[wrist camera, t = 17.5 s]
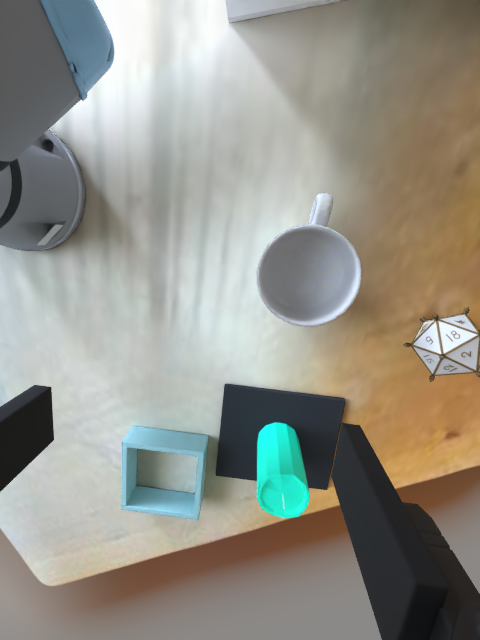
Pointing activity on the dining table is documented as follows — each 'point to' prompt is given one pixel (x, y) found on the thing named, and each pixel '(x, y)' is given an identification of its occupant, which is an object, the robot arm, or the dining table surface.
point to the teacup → (310, 271)
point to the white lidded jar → (266, 7)
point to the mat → (282, 407)
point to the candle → (281, 472)
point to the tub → (160, 498)
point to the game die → (448, 345)
